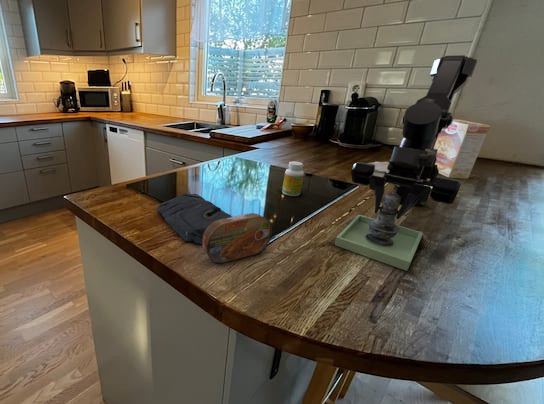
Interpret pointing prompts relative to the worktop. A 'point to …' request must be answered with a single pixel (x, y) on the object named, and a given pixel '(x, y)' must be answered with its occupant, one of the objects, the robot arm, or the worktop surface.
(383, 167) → the washcloth
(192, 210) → the navy blue pouch
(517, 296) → the worktop surface
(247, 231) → the tin
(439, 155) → the coffeecake box
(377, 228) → the grey tall rounded piece
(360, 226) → the sage tray
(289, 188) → the supplement bottle
